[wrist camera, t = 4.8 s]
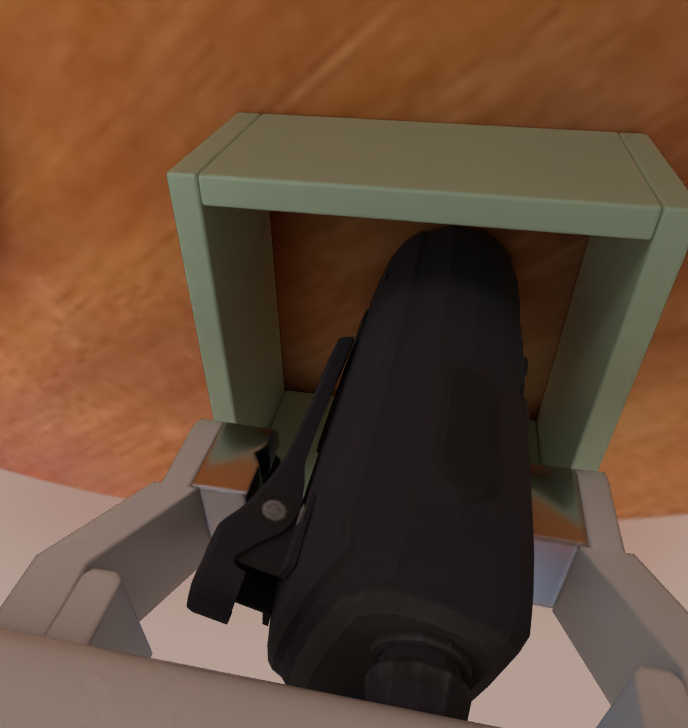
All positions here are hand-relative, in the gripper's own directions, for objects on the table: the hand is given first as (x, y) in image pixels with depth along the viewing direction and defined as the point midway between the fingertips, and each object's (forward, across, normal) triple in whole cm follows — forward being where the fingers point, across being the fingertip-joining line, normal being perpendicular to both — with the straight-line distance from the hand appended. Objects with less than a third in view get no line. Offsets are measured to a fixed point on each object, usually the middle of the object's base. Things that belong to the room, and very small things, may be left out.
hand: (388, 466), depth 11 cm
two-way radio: (+6, 0, 0) cm, 6 cm away
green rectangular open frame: (+6, 0, 0) cm, 6 cm away
